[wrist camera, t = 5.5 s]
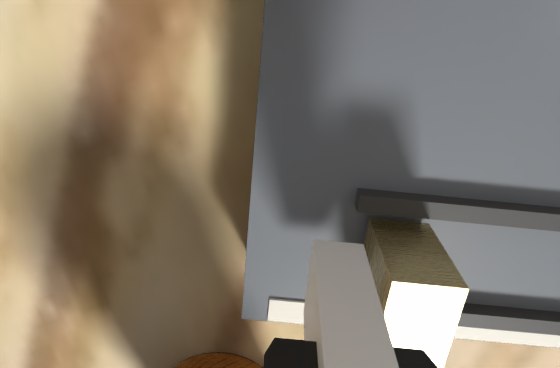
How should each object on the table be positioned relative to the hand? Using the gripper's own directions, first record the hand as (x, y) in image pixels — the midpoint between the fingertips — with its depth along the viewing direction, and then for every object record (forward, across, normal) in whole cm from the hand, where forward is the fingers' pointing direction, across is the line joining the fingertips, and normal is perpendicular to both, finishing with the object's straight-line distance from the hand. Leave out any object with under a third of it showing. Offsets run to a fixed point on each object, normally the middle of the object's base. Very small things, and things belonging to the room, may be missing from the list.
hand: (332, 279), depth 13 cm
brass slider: (+2, +2, 0) cm, 3 cm away
